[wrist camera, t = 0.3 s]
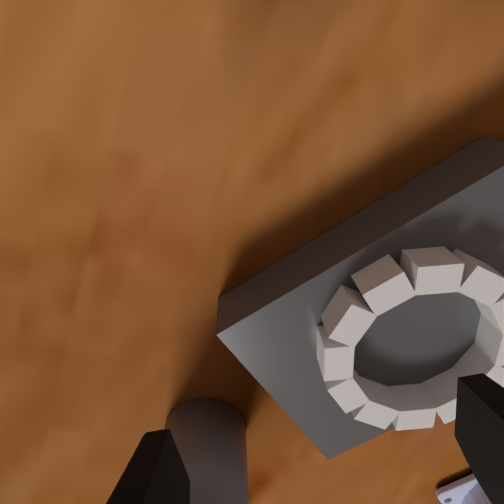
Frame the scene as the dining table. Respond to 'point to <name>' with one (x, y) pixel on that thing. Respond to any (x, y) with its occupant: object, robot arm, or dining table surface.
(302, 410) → the grey flange plate
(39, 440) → the dining table surface
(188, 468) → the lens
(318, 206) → the dining table surface
